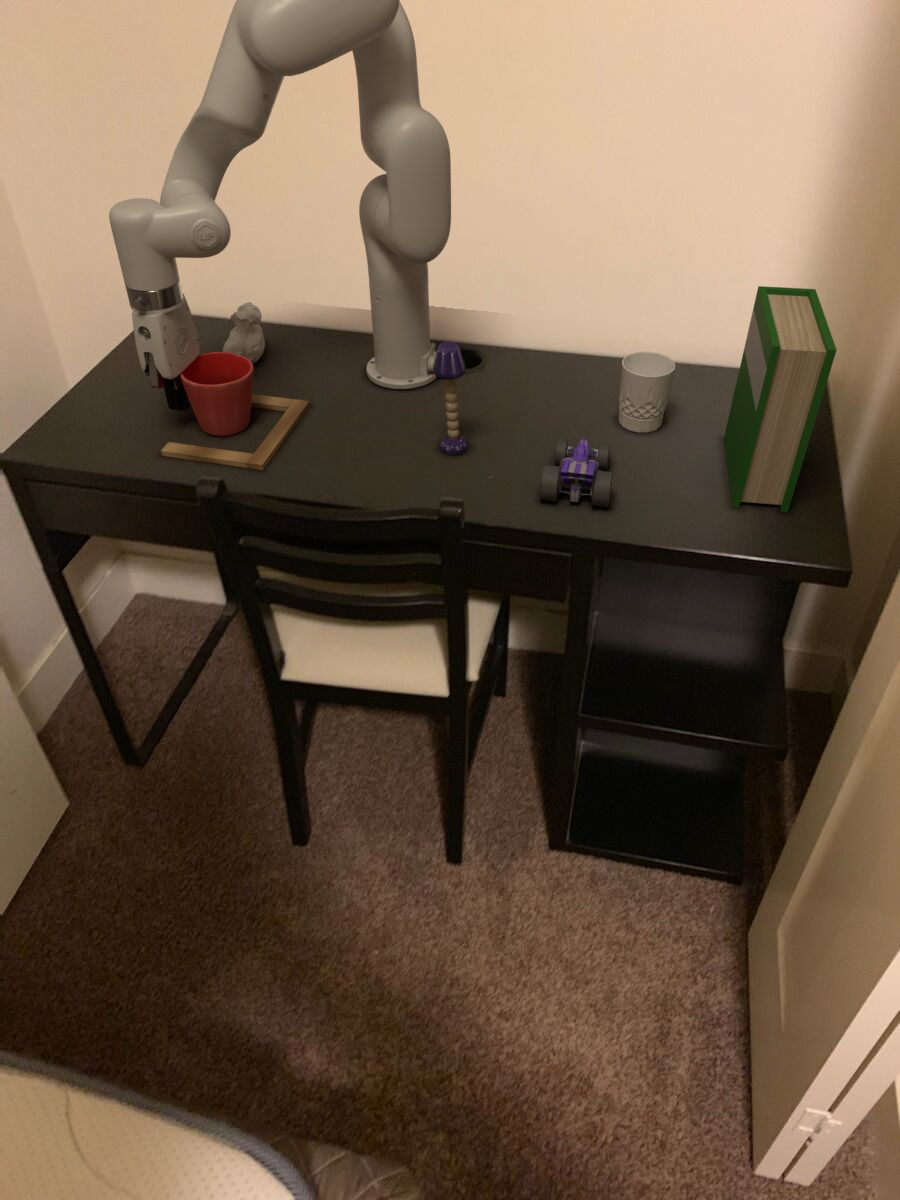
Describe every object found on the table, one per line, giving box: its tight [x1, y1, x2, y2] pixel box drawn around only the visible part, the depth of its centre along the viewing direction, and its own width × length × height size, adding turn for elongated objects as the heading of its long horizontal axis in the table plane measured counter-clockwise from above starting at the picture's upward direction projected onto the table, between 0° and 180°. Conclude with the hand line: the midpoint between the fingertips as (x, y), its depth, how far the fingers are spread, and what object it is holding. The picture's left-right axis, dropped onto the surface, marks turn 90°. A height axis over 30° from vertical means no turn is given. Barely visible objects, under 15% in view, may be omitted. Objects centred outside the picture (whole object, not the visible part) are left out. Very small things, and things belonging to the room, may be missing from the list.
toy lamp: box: [434, 341, 469, 456], centre depth 130 cm, size 5×5×17 cm
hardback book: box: [723, 285, 838, 513], centre depth 121 cm, size 18×7×24 cm, turn 171°
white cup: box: [618, 351, 676, 434], centre depth 137 cm, size 8×8×10 cm
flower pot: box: [179, 351, 254, 437], centre depth 138 cm, size 11×11×10 cm
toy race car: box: [539, 438, 614, 508], centre depth 126 cm, size 10×15×6 cm, turn 168°
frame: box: [160, 393, 311, 471], centre depth 140 cm, size 16×19×1 cm
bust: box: [221, 301, 266, 365], centre depth 154 cm, size 12×8×11 cm
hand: (180, 407), depth 139 cm, fingers closed
